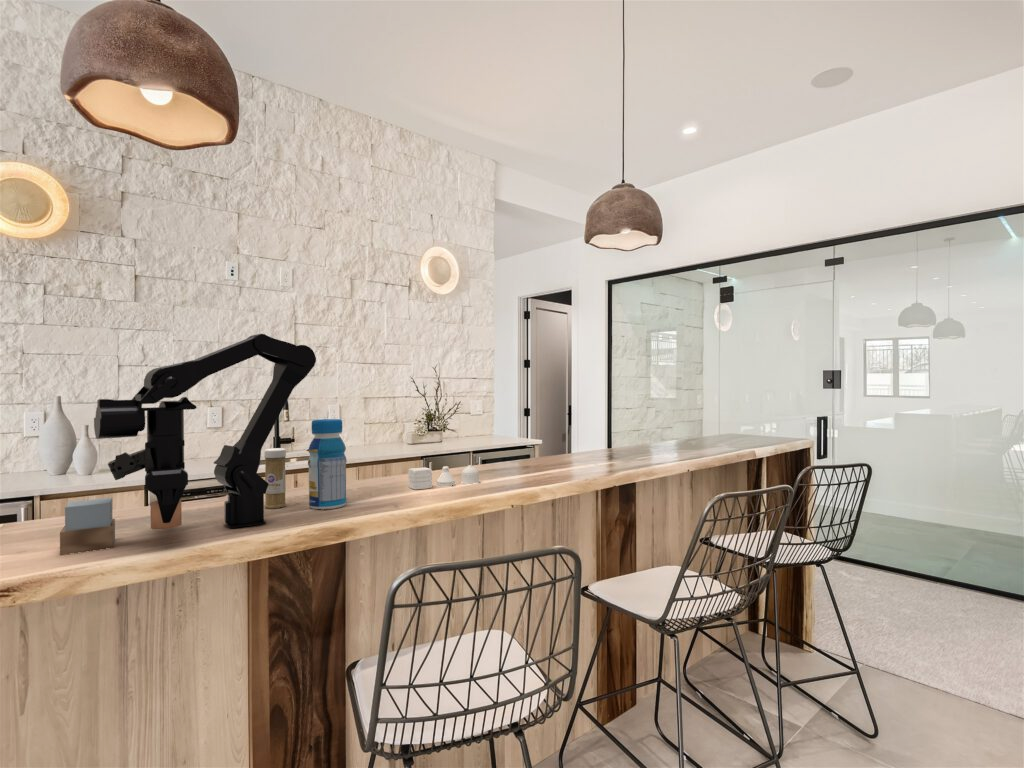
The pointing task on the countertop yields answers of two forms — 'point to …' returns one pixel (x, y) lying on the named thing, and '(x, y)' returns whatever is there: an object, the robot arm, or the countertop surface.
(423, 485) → the container set
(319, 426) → the beverage bottle
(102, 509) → the tower top
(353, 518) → the countertop surface
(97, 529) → the tower base
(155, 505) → the tan cylinder
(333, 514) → the countertop surface
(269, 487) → the sprinkles bottle
